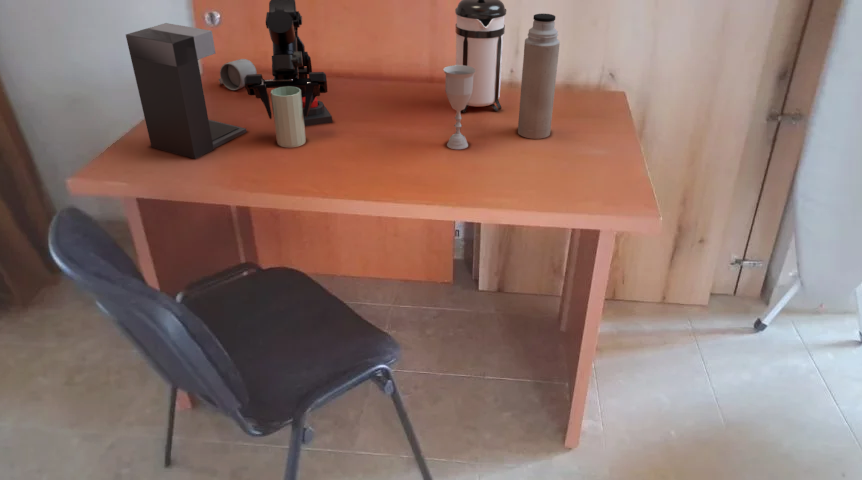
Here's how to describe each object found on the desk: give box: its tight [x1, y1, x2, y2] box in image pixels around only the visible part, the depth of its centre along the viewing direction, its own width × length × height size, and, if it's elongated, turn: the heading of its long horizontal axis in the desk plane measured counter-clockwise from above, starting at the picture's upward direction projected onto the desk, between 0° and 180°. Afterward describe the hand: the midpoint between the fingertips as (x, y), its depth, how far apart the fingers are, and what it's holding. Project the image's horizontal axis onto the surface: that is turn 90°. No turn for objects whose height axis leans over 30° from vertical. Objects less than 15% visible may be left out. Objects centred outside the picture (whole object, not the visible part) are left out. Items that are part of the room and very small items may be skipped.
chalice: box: [442, 64, 476, 150], centre depth 161 cm, size 7×7×18 cm
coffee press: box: [454, 0, 507, 114], centre depth 181 cm, size 17×16×30 cm
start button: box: [302, 96, 319, 108], centre depth 178 cm, size 4×4×2 cm
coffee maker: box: [125, 22, 248, 160], centre depth 161 cm, size 18×14×26 cm
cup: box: [270, 86, 307, 148], centre depth 163 cm, size 7×7×12 cm
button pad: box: [303, 99, 333, 127], centre depth 179 cm, size 11×9×4 cm
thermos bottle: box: [517, 13, 561, 140], centre depth 164 cm, size 8×8×28 cm
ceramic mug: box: [218, 58, 258, 91], centre depth 199 cm, size 11×8×8 cm
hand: (288, 117), depth 162 cm, fingers open, 8 cm apart
